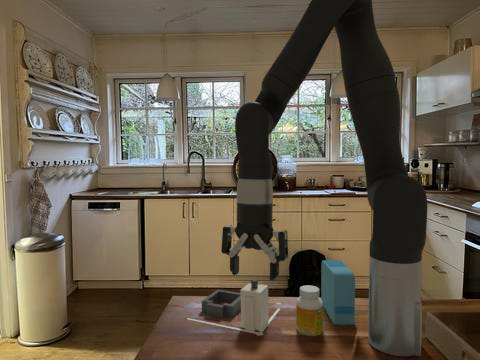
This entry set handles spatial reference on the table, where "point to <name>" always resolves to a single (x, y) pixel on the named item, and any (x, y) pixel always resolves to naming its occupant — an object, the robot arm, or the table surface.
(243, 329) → the header board
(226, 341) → the table surface
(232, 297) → the frame
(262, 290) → the plug
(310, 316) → the supplement bottle
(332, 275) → the data package
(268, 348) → the table surface
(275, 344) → the table surface
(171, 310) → the table surface
